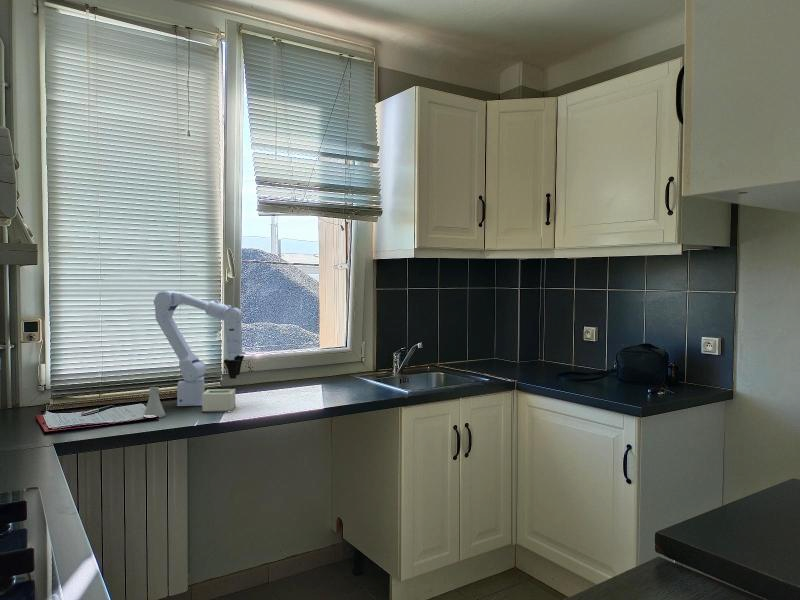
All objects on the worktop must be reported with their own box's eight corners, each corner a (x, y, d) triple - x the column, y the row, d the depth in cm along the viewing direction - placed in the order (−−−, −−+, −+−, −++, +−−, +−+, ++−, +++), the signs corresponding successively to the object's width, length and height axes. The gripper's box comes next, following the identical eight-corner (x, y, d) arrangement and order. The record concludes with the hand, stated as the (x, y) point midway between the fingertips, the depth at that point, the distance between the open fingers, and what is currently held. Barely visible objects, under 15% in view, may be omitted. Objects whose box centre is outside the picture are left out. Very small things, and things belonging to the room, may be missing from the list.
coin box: (202, 412, 211) (202, 394, 211) (207, 407, 220) (207, 389, 219) (231, 411, 212) (231, 393, 212) (235, 406, 221) (235, 389, 220)
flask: (159, 413, 210) (158, 385, 210) (169, 416, 206) (169, 387, 205) (138, 417, 205) (138, 388, 204) (149, 420, 200) (149, 390, 200)
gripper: (241, 342, 217) (242, 379, 217) (247, 338, 231) (248, 373, 232) (221, 342, 216) (222, 380, 217) (229, 338, 230) (229, 373, 231)
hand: (234, 376), depth 224 cm, fingers open, 7 cm apart
